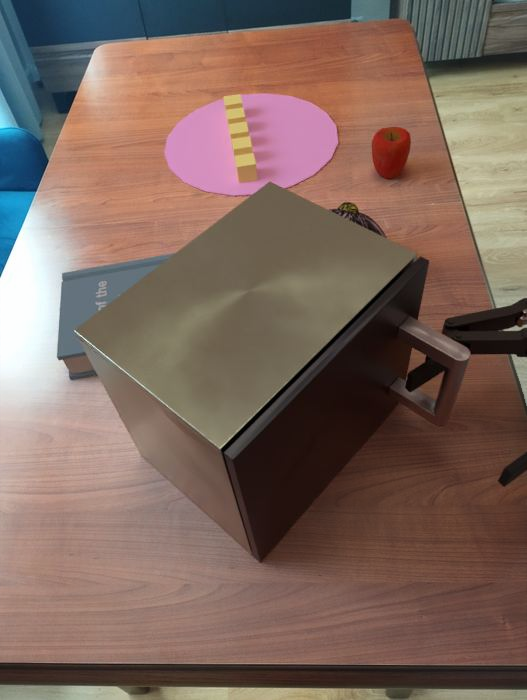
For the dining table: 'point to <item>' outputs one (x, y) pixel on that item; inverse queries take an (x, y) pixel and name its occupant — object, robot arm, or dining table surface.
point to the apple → (390, 151)
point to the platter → (251, 143)
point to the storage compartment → (233, 333)
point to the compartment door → (339, 410)
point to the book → (93, 304)
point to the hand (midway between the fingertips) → (453, 427)
